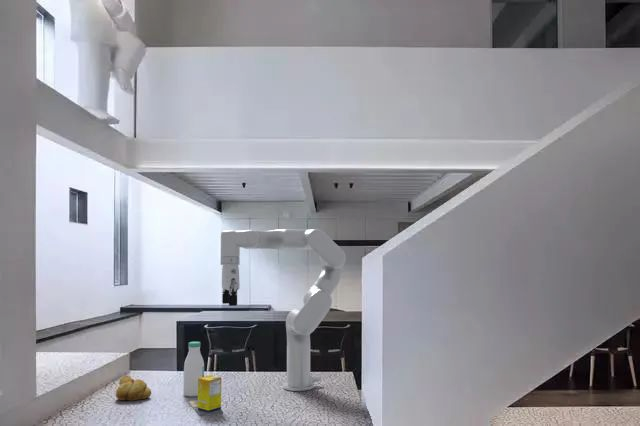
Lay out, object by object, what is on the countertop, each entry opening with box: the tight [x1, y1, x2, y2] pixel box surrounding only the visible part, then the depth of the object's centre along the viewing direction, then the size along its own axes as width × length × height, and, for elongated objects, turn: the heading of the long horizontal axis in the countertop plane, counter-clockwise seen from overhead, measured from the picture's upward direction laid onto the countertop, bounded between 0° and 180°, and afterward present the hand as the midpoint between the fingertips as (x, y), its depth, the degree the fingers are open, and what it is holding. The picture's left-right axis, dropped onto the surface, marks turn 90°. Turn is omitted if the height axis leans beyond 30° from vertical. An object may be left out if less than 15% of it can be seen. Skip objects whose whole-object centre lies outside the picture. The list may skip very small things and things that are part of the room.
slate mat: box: [194, 407, 224, 417], centre depth 191 cm, size 8×8×1 cm
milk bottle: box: [183, 341, 205, 398], centre depth 214 cm, size 8×8×20 cm
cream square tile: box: [188, 399, 198, 409], centre depth 199 cm, size 8×8×1 cm
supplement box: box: [197, 374, 222, 413], centre depth 191 cm, size 6×6×11 cm
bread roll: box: [115, 375, 152, 401], centre depth 207 cm, size 13×10×8 cm
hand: (229, 304), depth 218 cm, fingers open, 9 cm apart
